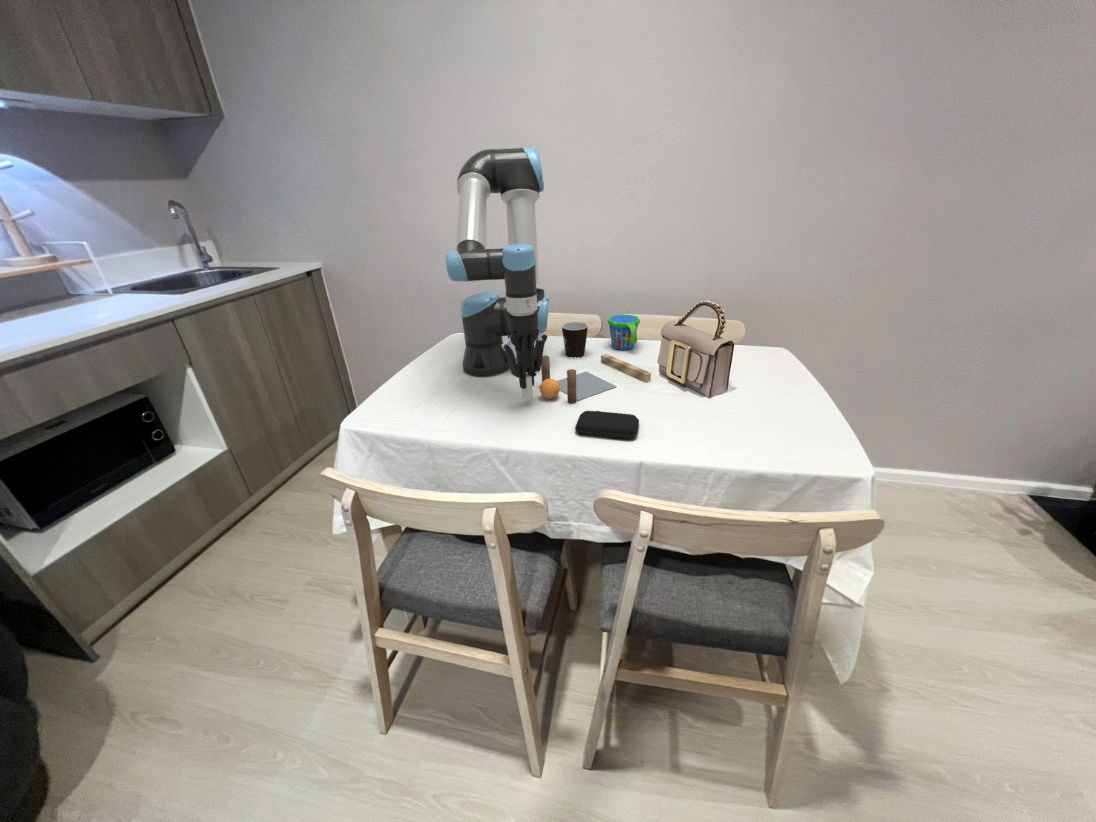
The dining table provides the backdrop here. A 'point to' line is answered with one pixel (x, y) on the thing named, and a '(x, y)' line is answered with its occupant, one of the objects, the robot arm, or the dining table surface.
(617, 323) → the snack cup
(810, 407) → the dining table surface
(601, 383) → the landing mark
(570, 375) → the right post
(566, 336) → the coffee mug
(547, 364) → the left post
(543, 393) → the ball
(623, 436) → the carrying case or bag
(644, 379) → the stopper wall
